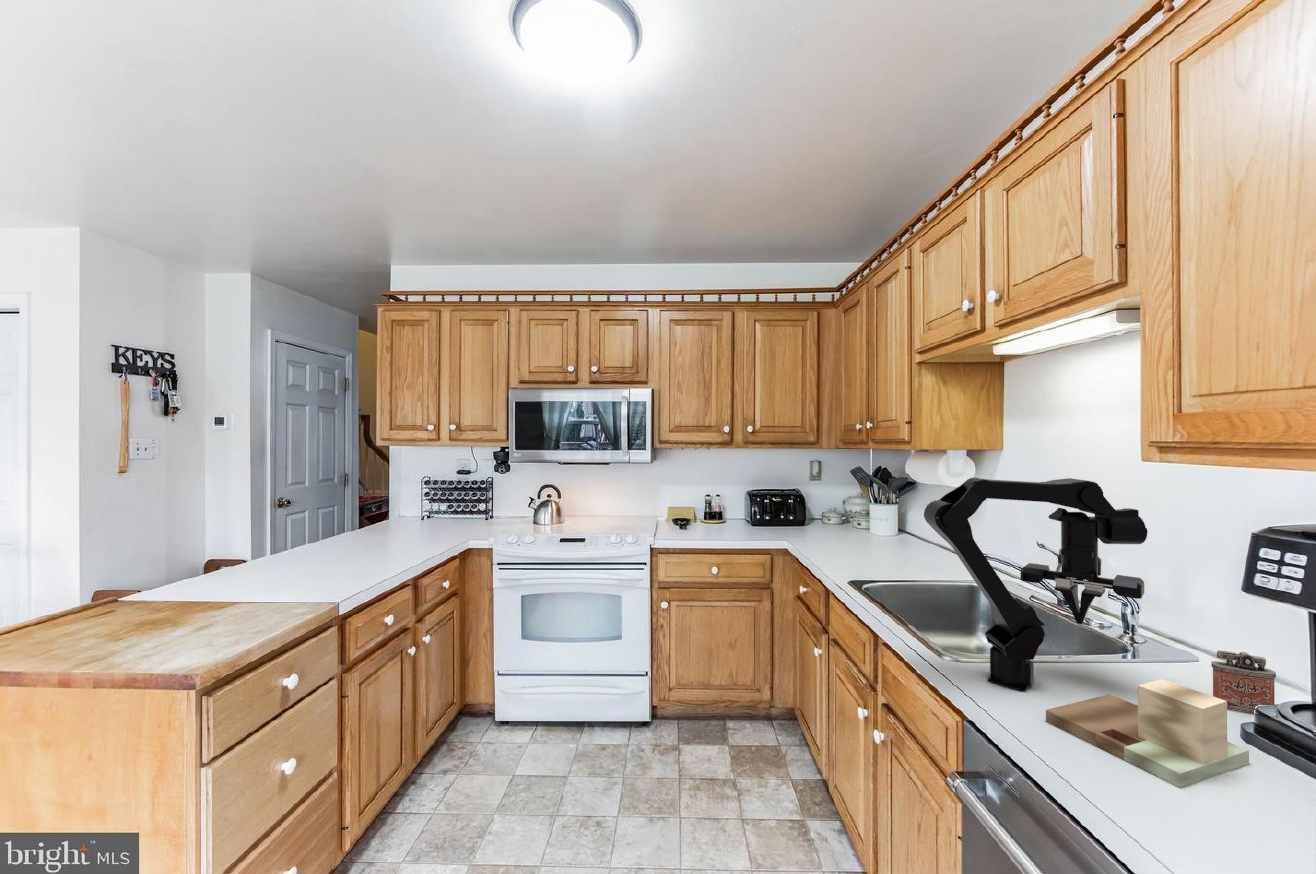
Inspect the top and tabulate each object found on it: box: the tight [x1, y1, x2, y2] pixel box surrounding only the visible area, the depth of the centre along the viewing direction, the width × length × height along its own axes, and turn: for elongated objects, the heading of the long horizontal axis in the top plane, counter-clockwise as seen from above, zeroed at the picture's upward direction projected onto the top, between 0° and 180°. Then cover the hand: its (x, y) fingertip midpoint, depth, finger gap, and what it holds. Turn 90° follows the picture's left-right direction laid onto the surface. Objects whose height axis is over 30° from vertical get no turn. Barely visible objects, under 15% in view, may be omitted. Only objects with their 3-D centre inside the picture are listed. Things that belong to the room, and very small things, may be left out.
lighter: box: [1210, 649, 1277, 715], centre depth 99 cm, size 8×3×10 cm, turn 59°
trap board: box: [1045, 693, 1250, 788], centre depth 89 cm, size 19×16×2 cm
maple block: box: [1137, 678, 1228, 765], centre depth 84 cm, size 8×6×8 cm
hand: (1080, 623), depth 109 cm, fingers closed
